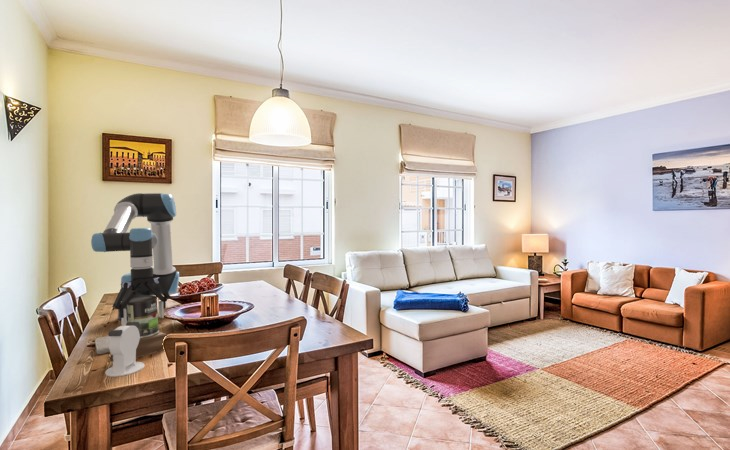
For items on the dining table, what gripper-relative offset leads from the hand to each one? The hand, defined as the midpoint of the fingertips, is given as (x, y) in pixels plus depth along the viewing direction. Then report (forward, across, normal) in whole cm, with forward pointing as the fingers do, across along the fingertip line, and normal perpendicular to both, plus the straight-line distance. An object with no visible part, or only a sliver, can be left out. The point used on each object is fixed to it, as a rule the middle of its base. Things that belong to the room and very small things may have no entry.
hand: (143, 321), depth 146 cm
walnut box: (+12, 0, 0) cm, 12 cm away
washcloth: (+12, -5, +16) cm, 20 cm away
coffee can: (+5, 0, 0) cm, 5 cm away
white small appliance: (+11, -12, -14) cm, 22 cm away
